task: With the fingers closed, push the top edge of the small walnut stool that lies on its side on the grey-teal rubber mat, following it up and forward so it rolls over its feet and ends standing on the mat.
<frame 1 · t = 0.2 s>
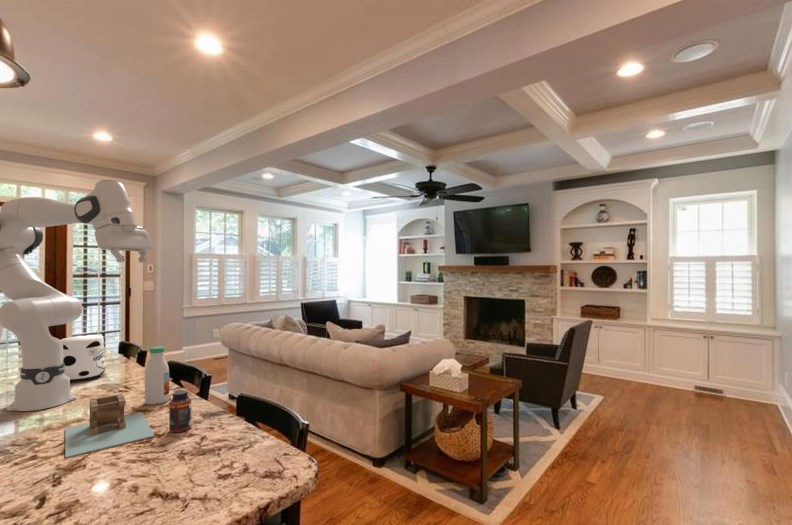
hand: (132, 262, 137), 51 cm above the countertop, tool tilted 20°, fingers open, 8 cm apart
milk bottle: (157, 402, 146), on the countertop
stool: (106, 410, 125), point 5 cm above the countertop, touching mat
supplement bottle: (180, 429, 121), on the countertop
mat: (108, 433, 118), on the countertop
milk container: (82, 378, 177), on the countertop
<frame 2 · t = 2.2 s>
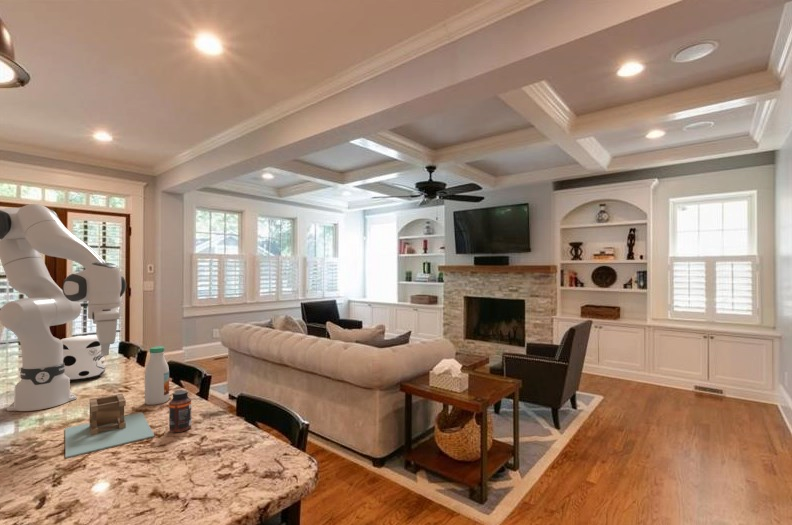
hand: (105, 354, 129), 21 cm above the countertop, tool pointing down, fingers closed
nothing on the countertop moved.
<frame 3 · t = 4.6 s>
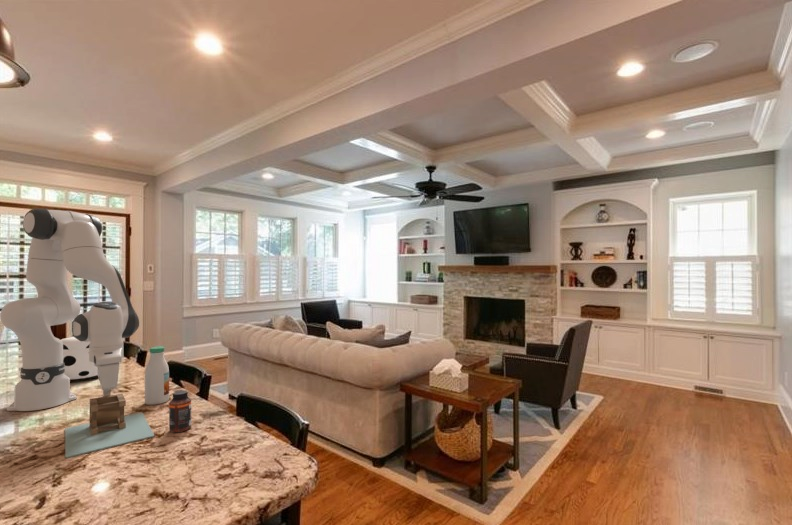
hand: (106, 397, 126), 8 cm above the countertop, tool pointing down, fingers closed
stool: (106, 410, 125), point 5 cm above the countertop, touching gripper, mat
everything else where it was.
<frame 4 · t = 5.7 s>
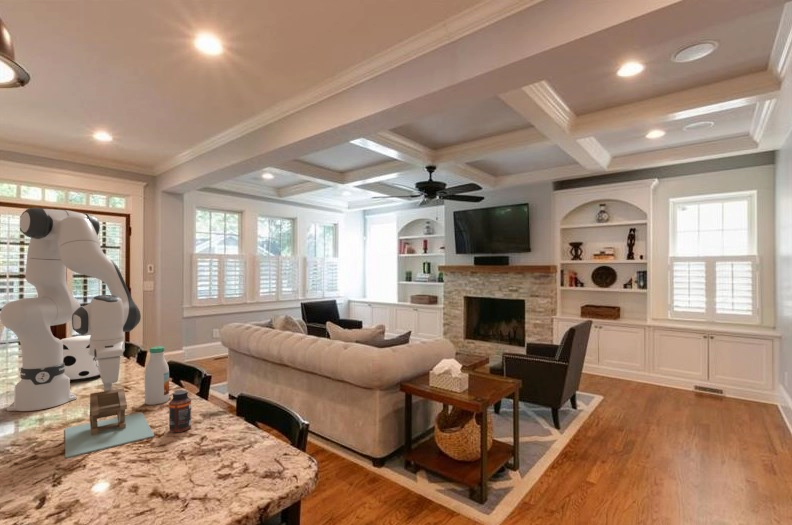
hand: (107, 391, 124), 11 cm above the countertop, tool pointing down, fingers closed
stool: (107, 403, 123), point 7 cm above the countertop, tilted 20°, touching gripper, mat
everything else where it was.
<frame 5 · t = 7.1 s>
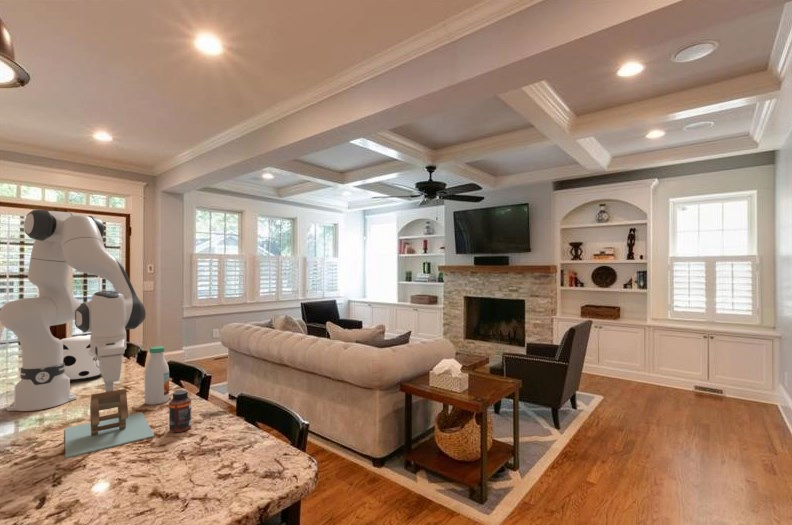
hand: (108, 390, 119), 12 cm above the countertop, tool pointing down, fingers closed
stool: (108, 400, 120), point 9 cm above the countertop, tilted 50°, touching mat
everything else where it was.
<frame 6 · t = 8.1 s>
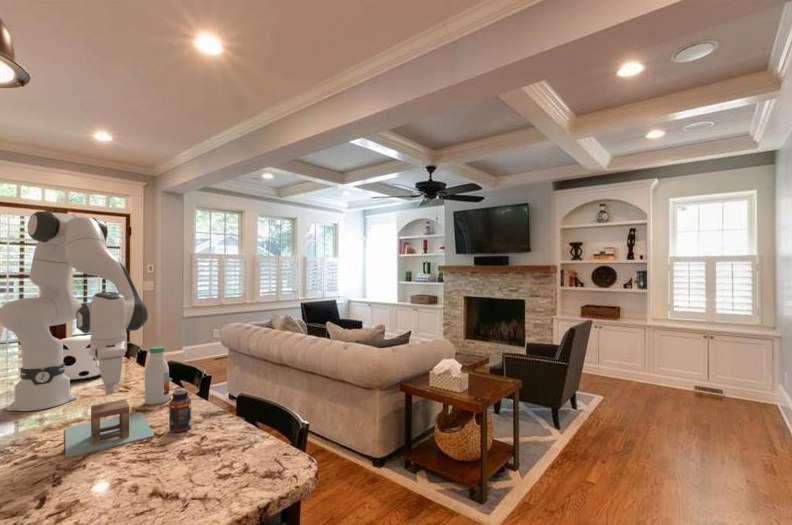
hand: (109, 393, 118), 12 cm above the countertop, tool pointing down, fingers closed
stool: (110, 408, 115), point 8 cm above the countertop, tilted 90°, touching mat
everything else where it was.
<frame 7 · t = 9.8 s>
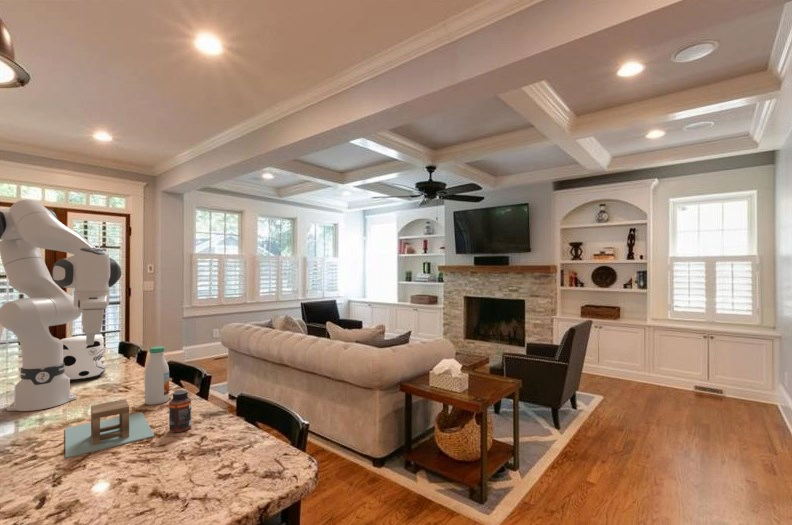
hand: (90, 344, 124), 26 cm above the countertop, tool pointing down, fingers closed
nothing on the countertop moved.
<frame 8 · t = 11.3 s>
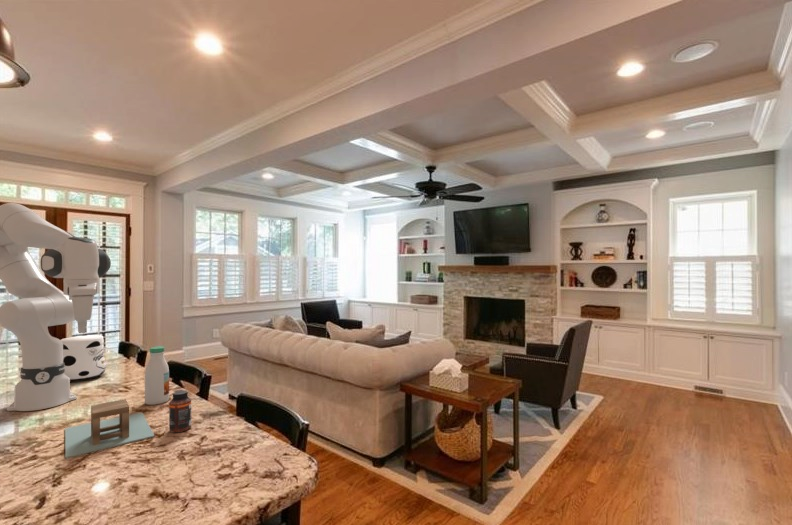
hand: (81, 332, 125), 29 cm above the countertop, tool pointing down, fingers closed
nothing on the countertop moved.
at the end: stool inside the target area (0.8 cm from its centre), point 8.4 cm above the countertop; stool tilted 90°; the gripper is holding nothing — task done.
